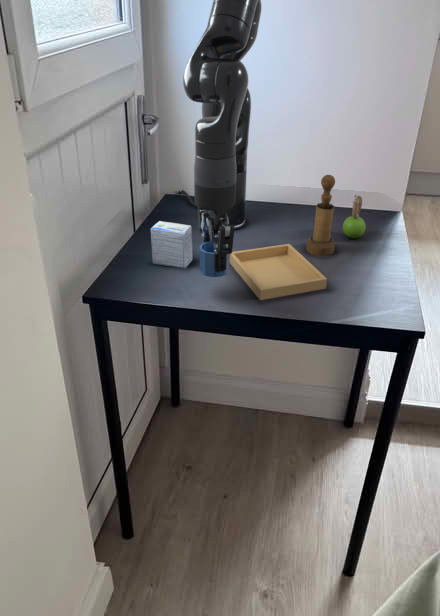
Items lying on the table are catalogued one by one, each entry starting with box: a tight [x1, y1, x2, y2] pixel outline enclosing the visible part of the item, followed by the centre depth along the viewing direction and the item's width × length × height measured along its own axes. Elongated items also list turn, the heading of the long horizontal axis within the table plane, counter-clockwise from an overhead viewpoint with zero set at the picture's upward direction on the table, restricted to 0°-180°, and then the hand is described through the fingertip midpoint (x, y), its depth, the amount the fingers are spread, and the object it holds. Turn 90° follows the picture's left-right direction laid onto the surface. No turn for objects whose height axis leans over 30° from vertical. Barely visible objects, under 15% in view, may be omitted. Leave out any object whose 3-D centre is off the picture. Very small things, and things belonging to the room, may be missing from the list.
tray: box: [230, 243, 328, 301], centre depth 119 cm, size 18×15×3 cm
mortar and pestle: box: [305, 174, 336, 257], centre depth 126 cm, size 7×6×18 cm
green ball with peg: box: [342, 194, 367, 239], centre depth 134 cm, size 5×6×12 cm
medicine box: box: [150, 220, 193, 269], centre depth 122 cm, size 8×4×9 cm, turn 71°
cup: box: [199, 241, 231, 278], centre depth 109 cm, size 6×6×5 cm
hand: (214, 263), depth 109 cm, fingers closed on cup, 5 cm apart
